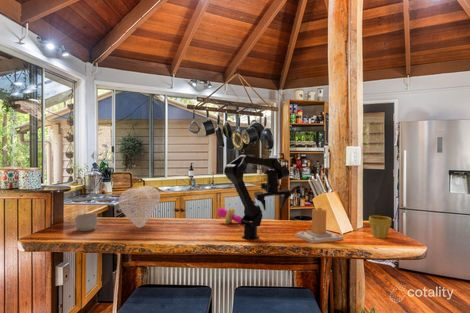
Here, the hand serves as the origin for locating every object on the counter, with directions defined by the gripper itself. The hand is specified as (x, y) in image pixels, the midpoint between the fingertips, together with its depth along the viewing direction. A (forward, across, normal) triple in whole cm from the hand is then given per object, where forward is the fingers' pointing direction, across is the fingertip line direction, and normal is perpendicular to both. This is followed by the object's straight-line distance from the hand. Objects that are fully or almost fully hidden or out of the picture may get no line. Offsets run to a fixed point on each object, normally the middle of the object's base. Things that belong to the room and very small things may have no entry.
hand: (273, 209), depth 167 cm
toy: (+15, +20, -20) cm, 31 cm away
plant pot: (+13, -49, +23) cm, 55 cm away
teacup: (+6, +98, -19) cm, 100 cm away
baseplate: (+10, -17, +18) cm, 27 cm away
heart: (+9, +70, -18) cm, 73 cm away
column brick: (+9, -17, +18) cm, 27 cm away
